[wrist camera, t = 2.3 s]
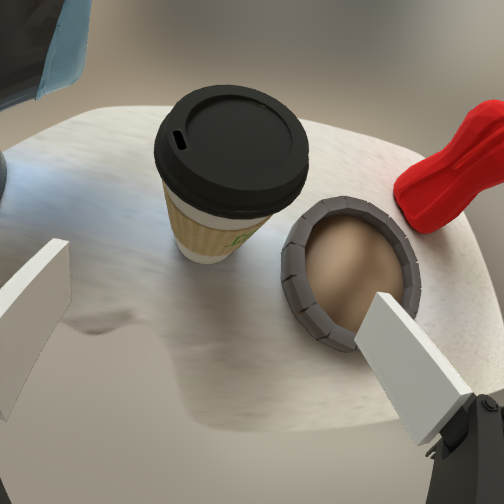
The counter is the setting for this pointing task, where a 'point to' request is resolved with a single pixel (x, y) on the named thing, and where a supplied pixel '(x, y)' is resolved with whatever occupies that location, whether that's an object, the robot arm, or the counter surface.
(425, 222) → the red curved bottle
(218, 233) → the coffee cup
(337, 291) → the round tray
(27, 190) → the counter surface
